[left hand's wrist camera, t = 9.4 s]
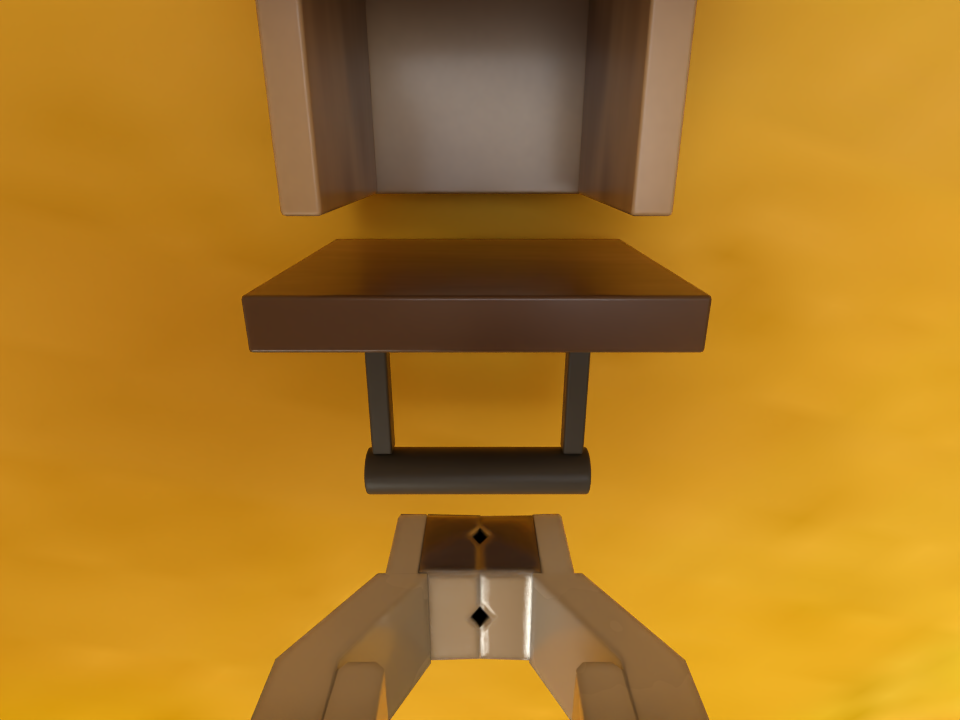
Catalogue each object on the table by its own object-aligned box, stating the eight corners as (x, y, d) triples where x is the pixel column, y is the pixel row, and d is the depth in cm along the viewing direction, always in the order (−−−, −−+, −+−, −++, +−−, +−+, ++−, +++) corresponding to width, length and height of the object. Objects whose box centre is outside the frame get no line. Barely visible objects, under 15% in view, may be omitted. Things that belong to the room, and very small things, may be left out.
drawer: (603, 433, 21) (670, 585, 13) (352, 434, 21) (283, 586, 13) (660, -222, 14) (849, -612, 7) (294, -223, 14) (100, -614, 7)
